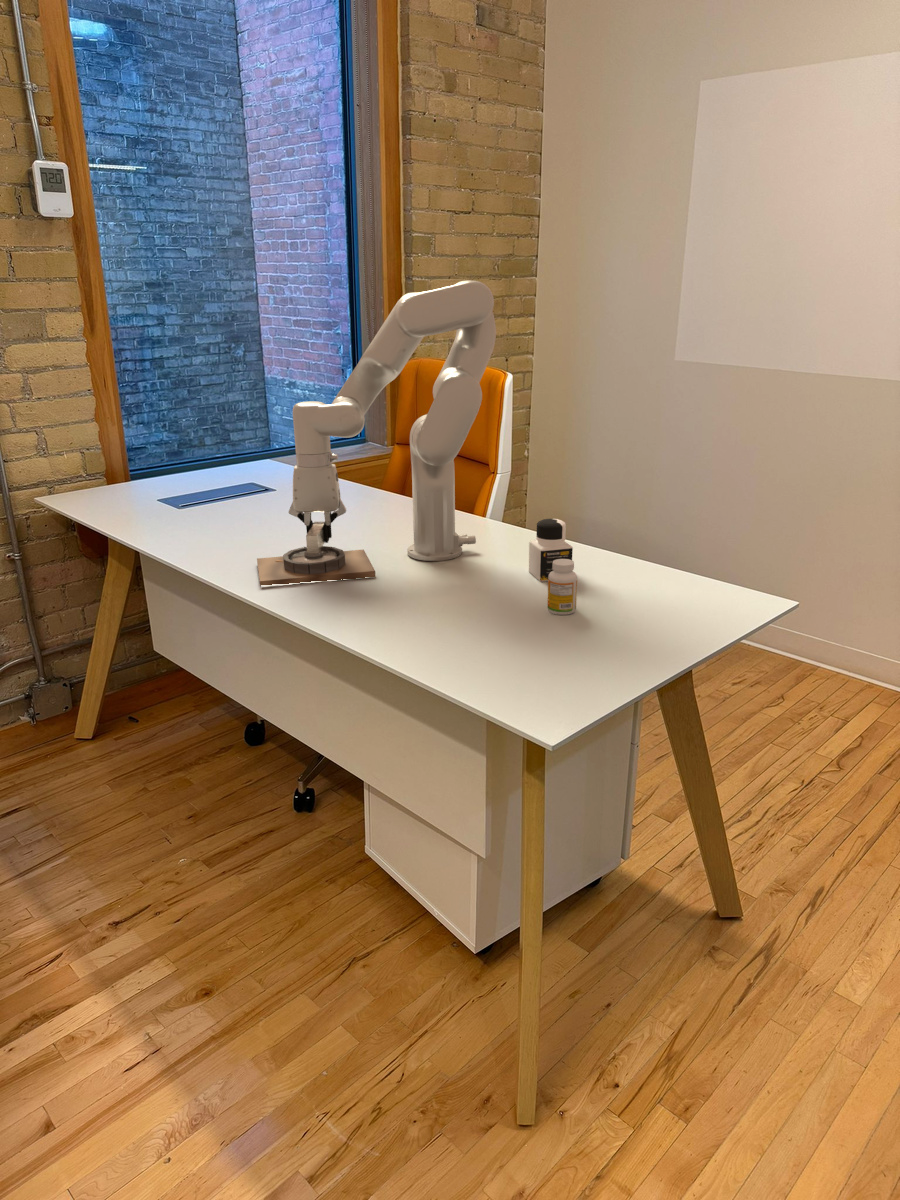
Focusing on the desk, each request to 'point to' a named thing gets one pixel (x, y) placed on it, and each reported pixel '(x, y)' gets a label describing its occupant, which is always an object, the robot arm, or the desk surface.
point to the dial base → (314, 567)
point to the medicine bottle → (548, 548)
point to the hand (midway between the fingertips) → (319, 540)
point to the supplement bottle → (562, 587)
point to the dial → (314, 547)
